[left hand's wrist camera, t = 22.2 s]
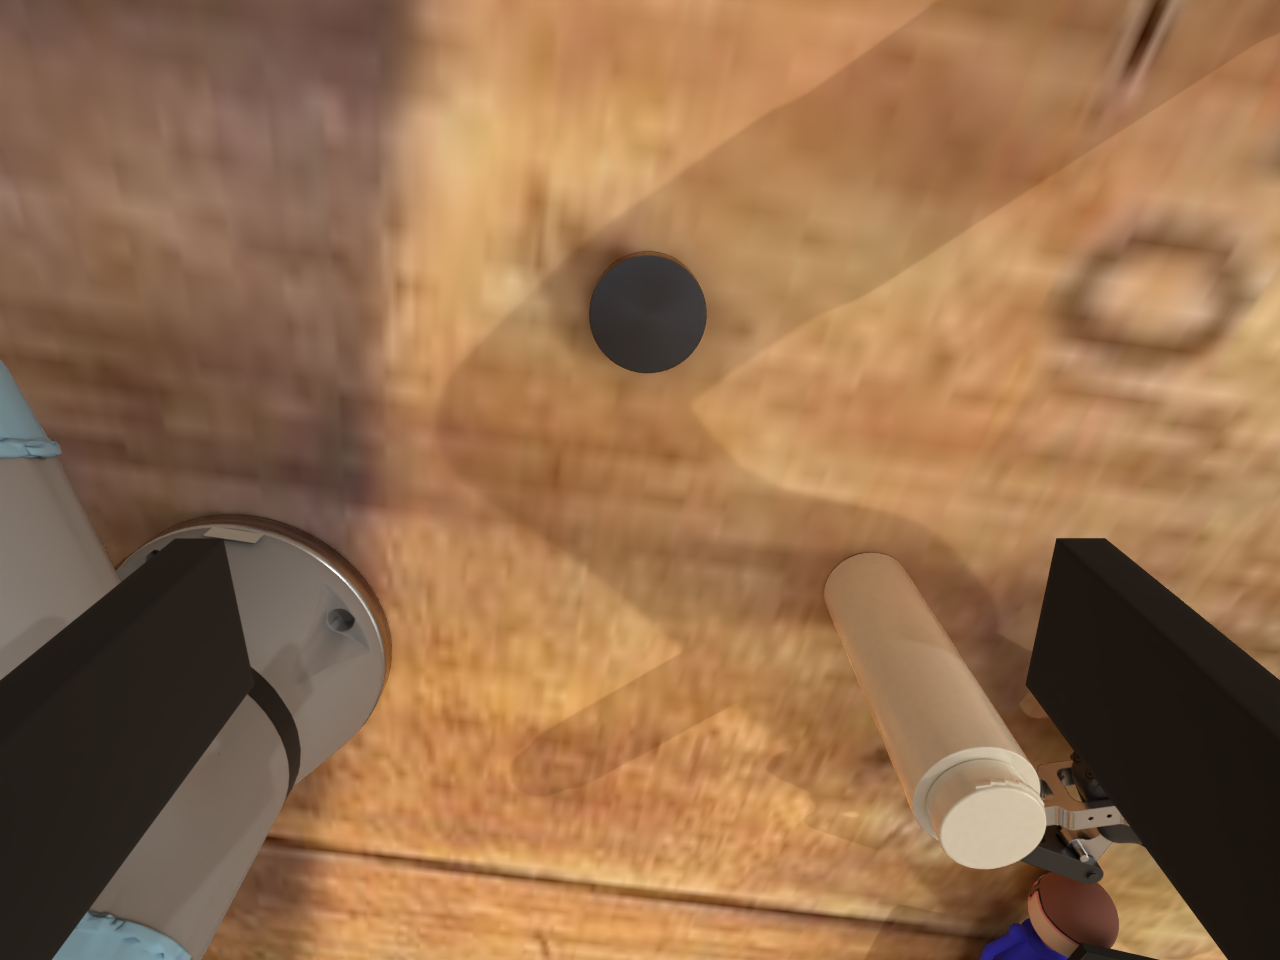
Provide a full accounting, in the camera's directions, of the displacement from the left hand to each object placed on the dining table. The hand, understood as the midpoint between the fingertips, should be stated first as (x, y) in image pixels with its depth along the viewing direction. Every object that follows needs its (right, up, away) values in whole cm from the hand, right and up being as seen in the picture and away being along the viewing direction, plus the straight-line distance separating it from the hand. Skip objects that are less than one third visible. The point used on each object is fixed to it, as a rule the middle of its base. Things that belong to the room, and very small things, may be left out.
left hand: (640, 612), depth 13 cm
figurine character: (+25, -28, +41) cm, 56 cm away
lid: (0, +10, +24) cm, 26 cm away
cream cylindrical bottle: (+12, -4, +31) cm, 34 cm away
